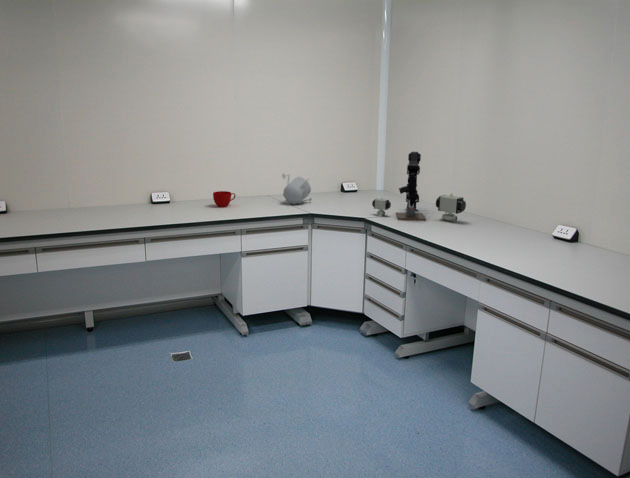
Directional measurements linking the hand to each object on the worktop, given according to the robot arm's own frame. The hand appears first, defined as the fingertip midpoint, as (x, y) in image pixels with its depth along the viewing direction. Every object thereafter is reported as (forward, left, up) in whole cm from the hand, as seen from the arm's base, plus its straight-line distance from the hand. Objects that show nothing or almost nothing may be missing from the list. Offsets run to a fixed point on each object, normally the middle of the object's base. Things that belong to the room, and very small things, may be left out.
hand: (411, 205), depth 361 cm
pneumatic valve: (+10, -17, -8) cm, 21 cm away
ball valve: (-12, +23, -8) cm, 27 cm away
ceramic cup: (+75, -110, -8) cm, 133 cm away
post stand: (0, 0, -8) cm, 8 cm away
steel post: (0, 0, -6) cm, 6 cm away
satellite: (+27, -85, -8) cm, 90 cm away
